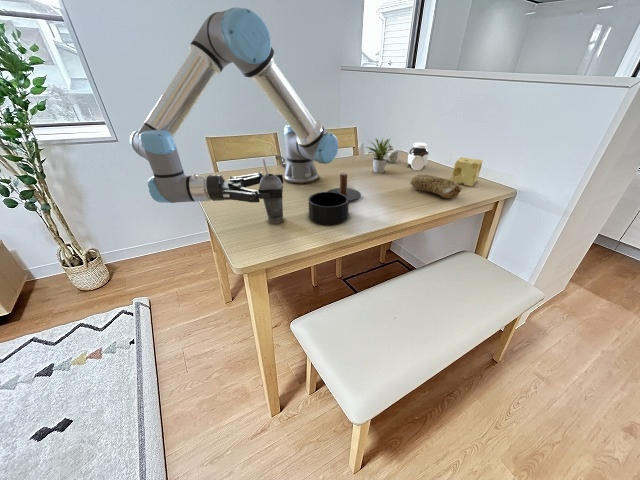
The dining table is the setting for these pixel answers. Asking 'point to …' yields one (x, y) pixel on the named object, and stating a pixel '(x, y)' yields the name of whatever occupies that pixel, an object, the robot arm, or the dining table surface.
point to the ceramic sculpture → (391, 155)
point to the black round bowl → (328, 208)
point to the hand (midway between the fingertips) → (282, 185)
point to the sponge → (436, 185)
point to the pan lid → (346, 189)
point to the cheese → (466, 171)
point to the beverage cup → (273, 204)
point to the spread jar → (418, 156)
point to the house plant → (379, 155)
